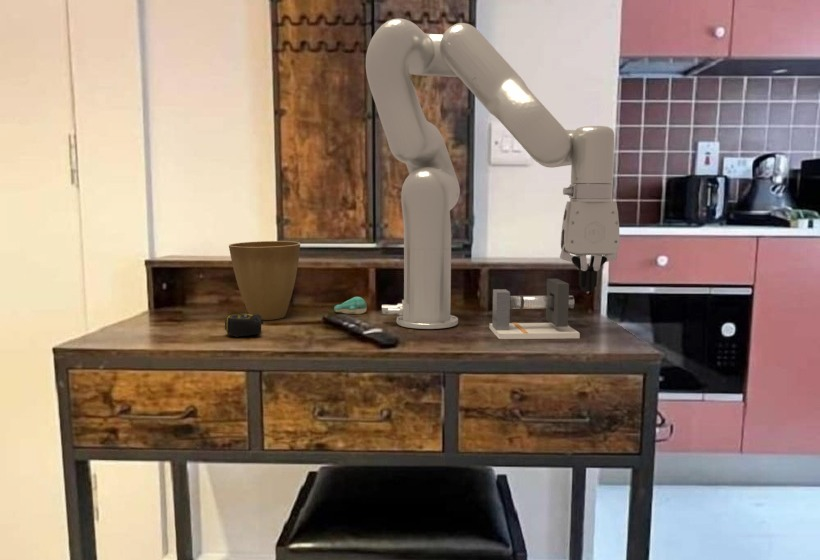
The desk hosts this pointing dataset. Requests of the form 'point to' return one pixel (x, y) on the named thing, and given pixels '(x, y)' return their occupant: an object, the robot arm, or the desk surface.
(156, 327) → the desk surface
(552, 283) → the dark grey holed plate
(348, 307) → the whale figurine
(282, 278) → the plant pot
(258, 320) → the tape measure
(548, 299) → the rod with grey supports
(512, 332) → the groove board
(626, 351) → the desk surface
